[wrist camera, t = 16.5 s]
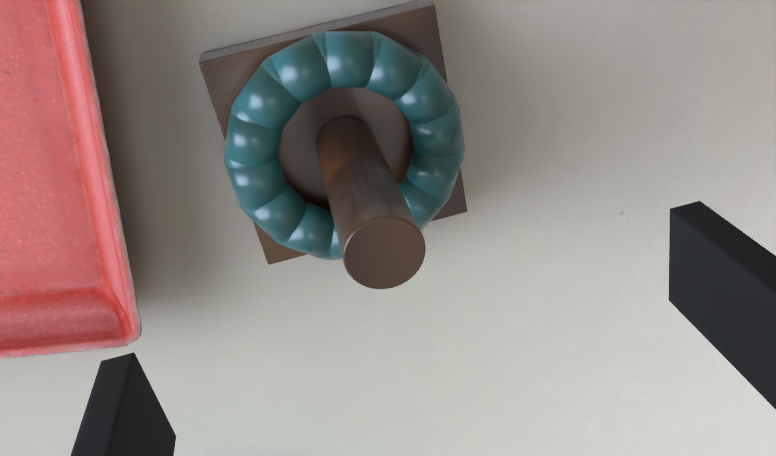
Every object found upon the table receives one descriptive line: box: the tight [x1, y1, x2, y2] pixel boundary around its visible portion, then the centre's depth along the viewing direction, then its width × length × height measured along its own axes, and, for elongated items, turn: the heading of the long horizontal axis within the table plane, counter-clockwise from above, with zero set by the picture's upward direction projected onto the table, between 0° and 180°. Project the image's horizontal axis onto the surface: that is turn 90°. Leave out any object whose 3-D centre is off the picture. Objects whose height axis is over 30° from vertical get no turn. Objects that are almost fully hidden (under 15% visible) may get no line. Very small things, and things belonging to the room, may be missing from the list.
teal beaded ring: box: [224, 31, 465, 260], centre depth 26 cm, size 9×9×2 cm
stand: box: [199, 0, 467, 289], centre depth 23 cm, size 9×9×10 cm
